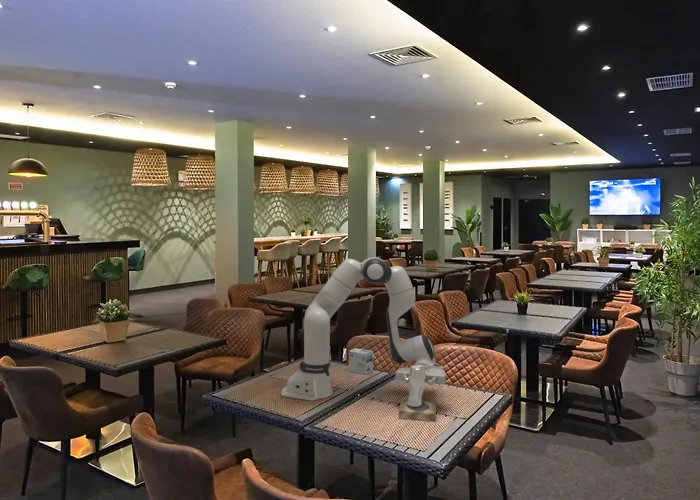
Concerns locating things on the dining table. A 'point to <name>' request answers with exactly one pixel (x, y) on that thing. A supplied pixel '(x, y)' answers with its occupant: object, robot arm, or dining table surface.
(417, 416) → the brass stand
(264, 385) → the dining table surface
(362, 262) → the robot arm
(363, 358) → the light bulb box
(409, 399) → the beer glass
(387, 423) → the dining table surface
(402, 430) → the dining table surface
